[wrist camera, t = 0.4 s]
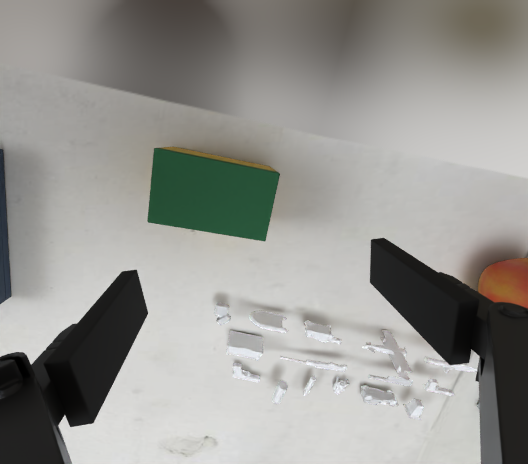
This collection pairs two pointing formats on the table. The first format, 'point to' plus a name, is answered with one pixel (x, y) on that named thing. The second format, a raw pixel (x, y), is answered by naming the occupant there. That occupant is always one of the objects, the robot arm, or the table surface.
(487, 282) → the apple
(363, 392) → the miniature set
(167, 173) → the sponge
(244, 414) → the table surface
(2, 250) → the tray
